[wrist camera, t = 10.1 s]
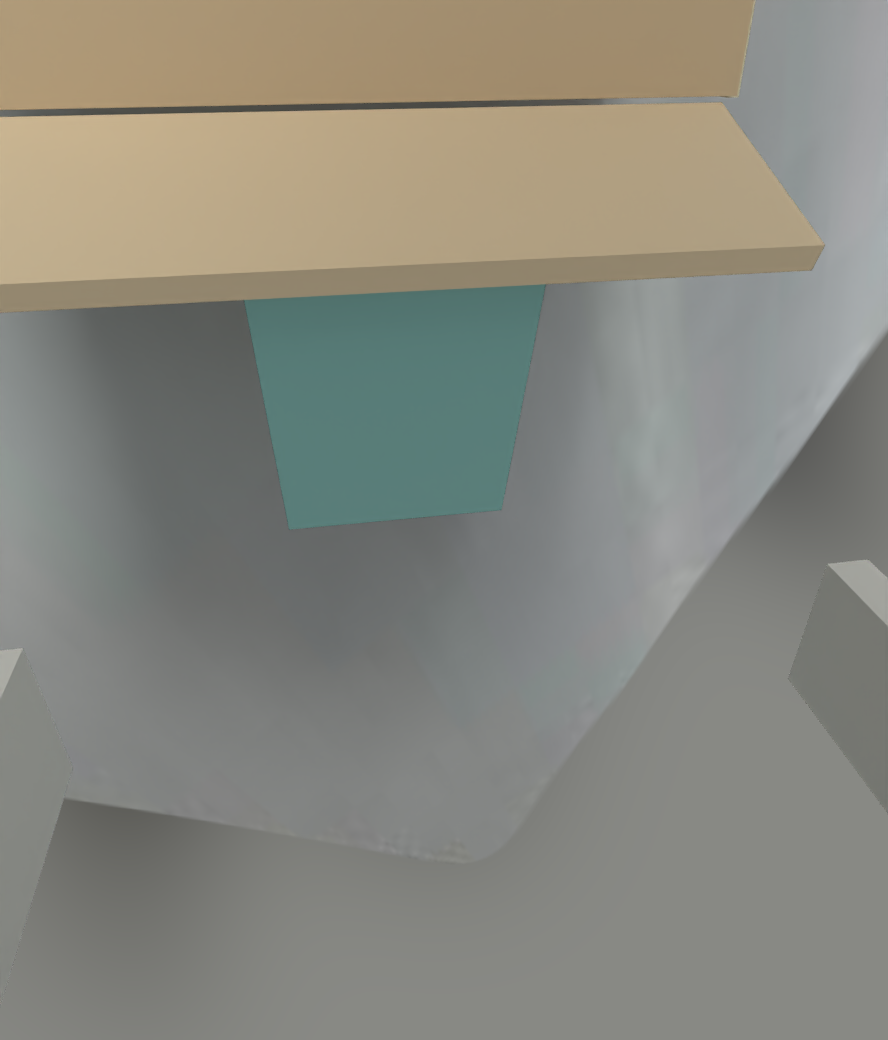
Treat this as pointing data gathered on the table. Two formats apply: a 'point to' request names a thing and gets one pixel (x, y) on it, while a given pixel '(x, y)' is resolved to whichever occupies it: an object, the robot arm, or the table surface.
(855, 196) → the table surface
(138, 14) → the carton
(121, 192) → the flap
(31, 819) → the robot arm
